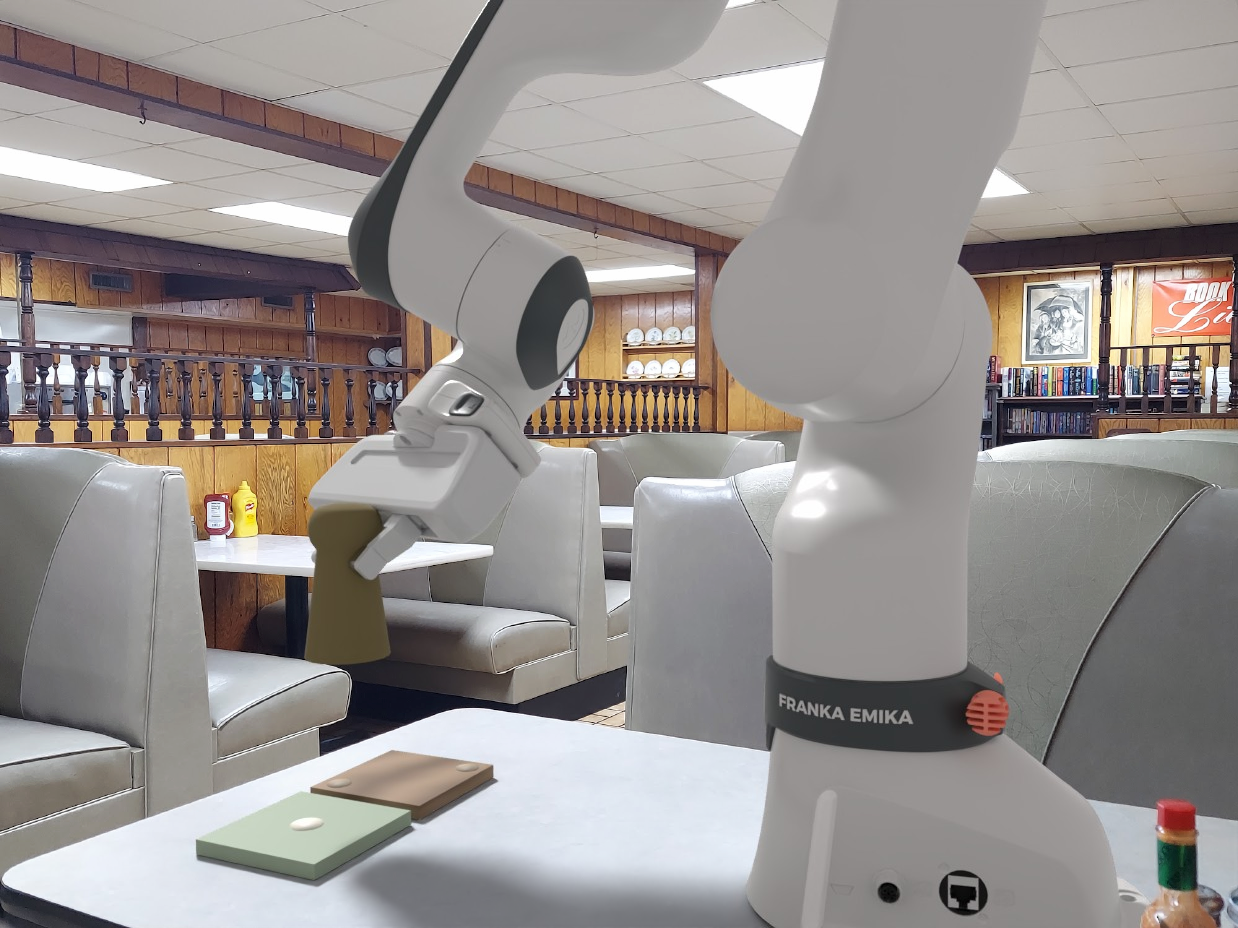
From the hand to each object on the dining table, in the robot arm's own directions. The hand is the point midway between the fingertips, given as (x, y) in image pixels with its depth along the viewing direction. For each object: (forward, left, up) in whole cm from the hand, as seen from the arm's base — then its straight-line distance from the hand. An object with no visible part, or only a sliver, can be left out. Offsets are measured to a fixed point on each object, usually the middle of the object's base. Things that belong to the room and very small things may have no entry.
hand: (339, 569), depth 75 cm
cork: (0, 0, -6) cm, 7 cm away
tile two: (0, -7, -18) cm, 19 cm away
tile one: (0, +4, -18) cm, 18 cm away
